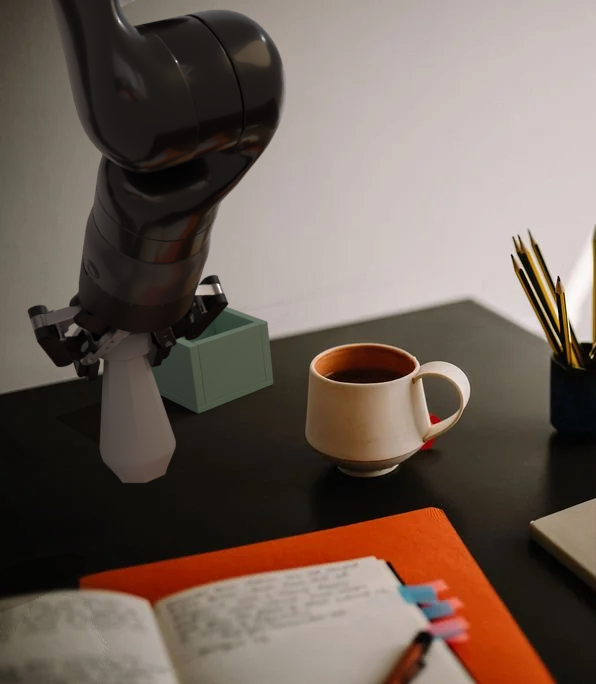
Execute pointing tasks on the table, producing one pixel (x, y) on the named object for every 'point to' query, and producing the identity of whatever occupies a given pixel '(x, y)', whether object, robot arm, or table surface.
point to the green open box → (217, 363)
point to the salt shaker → (133, 414)
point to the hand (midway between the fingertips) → (120, 363)
